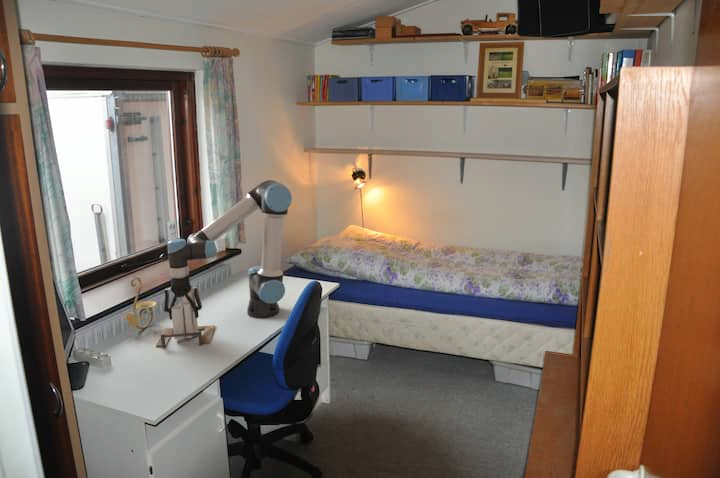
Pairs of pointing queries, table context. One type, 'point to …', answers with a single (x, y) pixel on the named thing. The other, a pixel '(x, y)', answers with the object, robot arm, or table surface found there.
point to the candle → (184, 317)
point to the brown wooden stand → (202, 338)
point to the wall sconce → (131, 317)
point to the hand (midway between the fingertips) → (185, 325)
